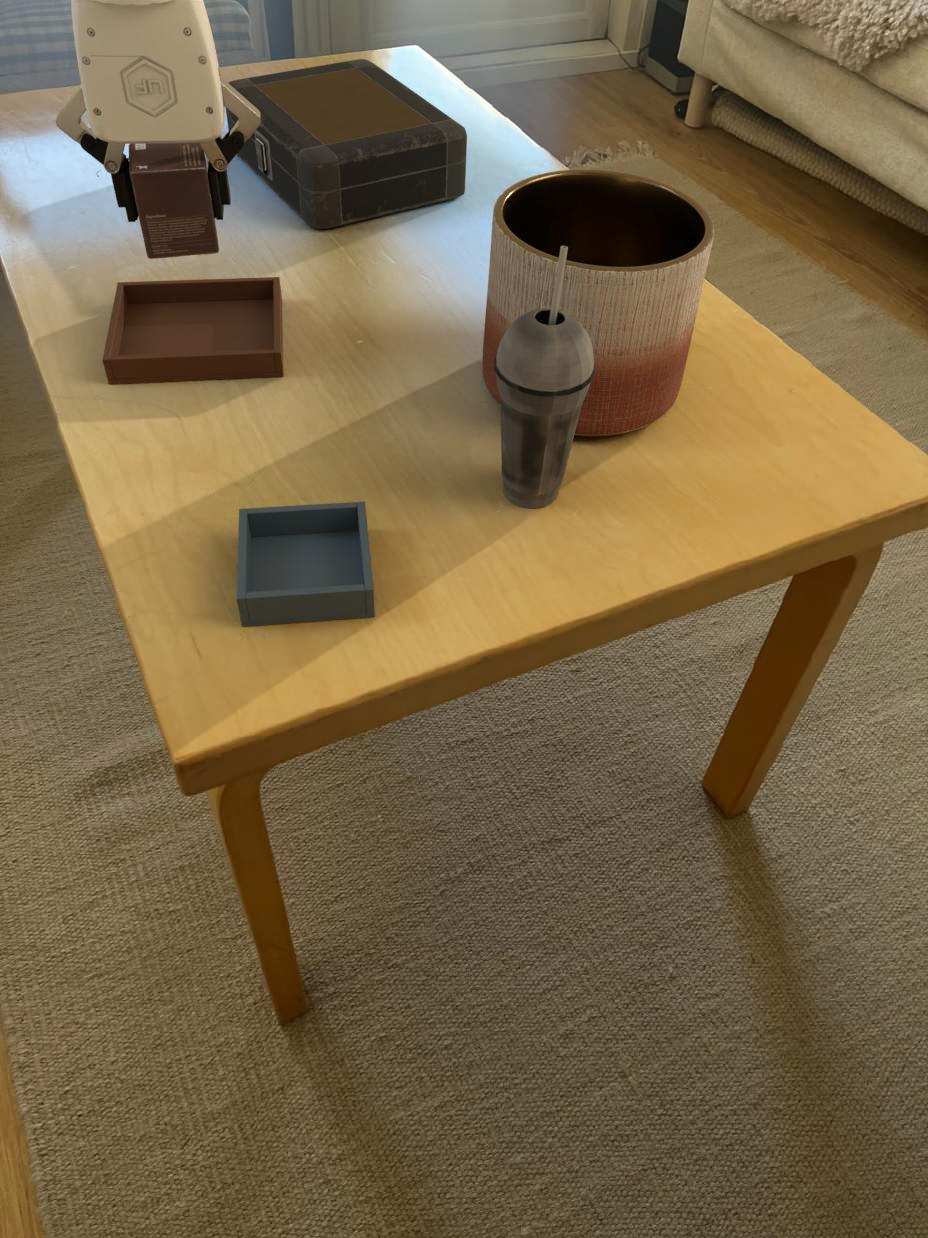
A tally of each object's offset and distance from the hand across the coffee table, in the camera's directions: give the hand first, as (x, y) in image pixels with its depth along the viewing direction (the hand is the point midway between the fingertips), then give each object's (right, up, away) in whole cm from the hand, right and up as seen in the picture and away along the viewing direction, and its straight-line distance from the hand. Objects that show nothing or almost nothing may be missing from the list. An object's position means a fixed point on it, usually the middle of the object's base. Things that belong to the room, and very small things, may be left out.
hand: (176, 211), depth 83 cm
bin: (+13, -31, -11) cm, 35 cm away
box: (0, -2, +2) cm, 3 cm away
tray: (0, -8, +9) cm, 12 cm away
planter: (+35, -13, +6) cm, 38 cm away
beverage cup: (+29, -24, -4) cm, 38 cm away
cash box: (+10, +18, +34) cm, 40 cm away
